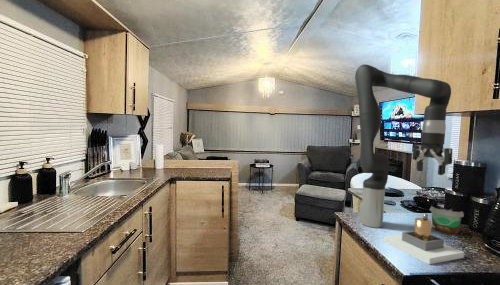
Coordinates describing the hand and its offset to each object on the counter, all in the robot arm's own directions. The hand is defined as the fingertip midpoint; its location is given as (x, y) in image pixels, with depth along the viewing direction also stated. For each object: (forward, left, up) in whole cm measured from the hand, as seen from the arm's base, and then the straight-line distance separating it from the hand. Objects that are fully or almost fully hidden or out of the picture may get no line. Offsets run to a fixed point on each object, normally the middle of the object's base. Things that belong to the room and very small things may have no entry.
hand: (429, 172), depth 104 cm
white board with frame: (+6, -9, -27) cm, 29 cm away
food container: (-4, +19, -28) cm, 34 cm away
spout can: (+6, -9, -25) cm, 28 cm away
